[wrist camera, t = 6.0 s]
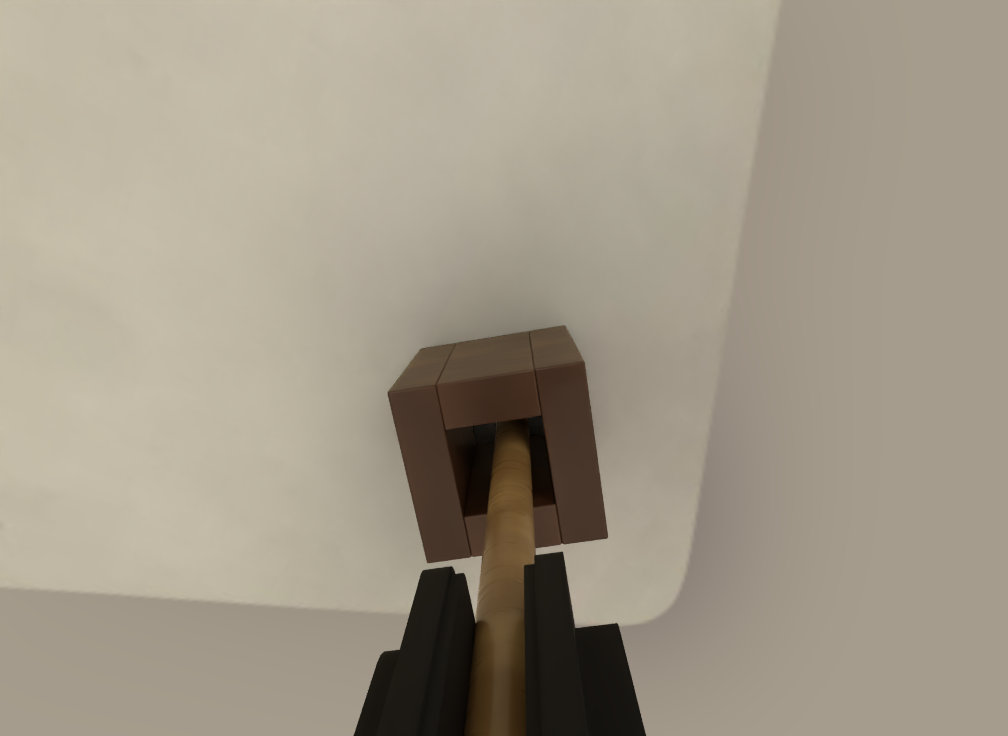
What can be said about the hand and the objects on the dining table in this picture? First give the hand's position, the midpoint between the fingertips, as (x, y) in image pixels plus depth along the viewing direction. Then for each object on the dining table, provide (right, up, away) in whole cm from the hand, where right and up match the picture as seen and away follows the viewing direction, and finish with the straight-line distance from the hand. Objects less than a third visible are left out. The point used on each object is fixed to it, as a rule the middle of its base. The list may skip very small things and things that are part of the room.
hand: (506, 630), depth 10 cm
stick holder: (0, +3, +13) cm, 13 cm away
